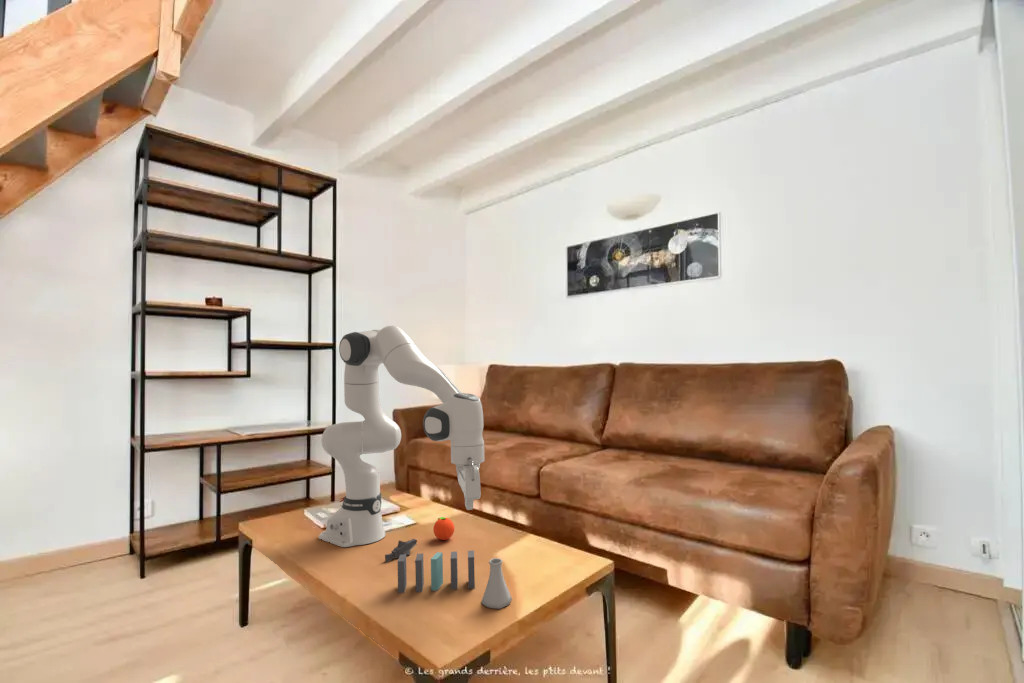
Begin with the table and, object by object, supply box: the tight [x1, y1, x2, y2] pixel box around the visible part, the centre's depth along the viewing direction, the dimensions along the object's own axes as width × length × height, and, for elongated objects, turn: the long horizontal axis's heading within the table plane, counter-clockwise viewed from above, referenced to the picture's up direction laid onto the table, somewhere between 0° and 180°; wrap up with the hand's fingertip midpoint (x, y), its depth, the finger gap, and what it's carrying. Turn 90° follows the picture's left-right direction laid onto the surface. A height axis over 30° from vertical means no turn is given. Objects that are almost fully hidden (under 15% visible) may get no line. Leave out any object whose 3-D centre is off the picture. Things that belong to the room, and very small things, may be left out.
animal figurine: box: [384, 538, 418, 563], centre depth 147 cm, size 12×4×5 cm, turn 140°
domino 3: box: [430, 551, 444, 592], centre depth 127 cm, size 2×4×8 cm, turn 168°
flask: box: [480, 557, 513, 609], centre depth 119 cm, size 7×7×10 cm
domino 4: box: [450, 551, 459, 591], centre depth 127 cm, size 2×4×8 cm, turn 5°
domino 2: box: [414, 552, 425, 593], centre depth 127 cm, size 2×4×8 cm, turn 5°
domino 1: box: [397, 554, 408, 594], centre depth 126 cm, size 2×4×8 cm, turn 5°
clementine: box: [433, 516, 455, 541], centre depth 160 cm, size 8×7×7 cm
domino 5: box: [467, 549, 476, 590], centre depth 128 cm, size 2×4×8 cm, turn 5°
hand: (469, 508), depth 127 cm, fingers closed
